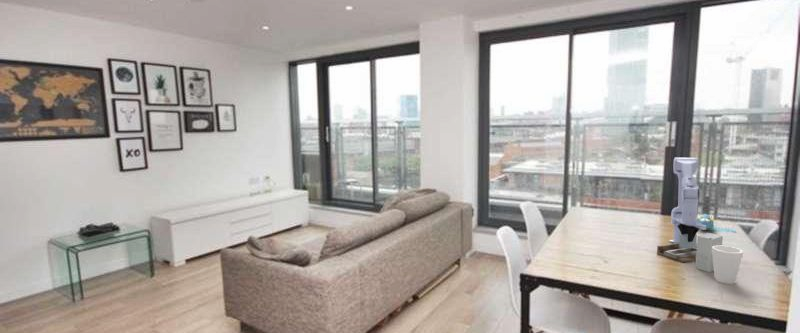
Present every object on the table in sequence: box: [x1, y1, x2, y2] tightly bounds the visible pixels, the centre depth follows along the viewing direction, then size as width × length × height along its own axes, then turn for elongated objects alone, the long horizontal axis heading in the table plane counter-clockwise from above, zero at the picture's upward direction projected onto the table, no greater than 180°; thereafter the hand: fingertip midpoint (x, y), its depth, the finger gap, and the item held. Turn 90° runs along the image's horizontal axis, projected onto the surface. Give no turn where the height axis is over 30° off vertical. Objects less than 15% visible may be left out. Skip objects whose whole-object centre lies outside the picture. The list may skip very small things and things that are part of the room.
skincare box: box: [694, 232, 724, 273], centre depth 169 cm, size 8×6×15 cm
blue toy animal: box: [697, 213, 737, 234], centre depth 226 cm, size 28×9×15 cm
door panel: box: [679, 233, 698, 249], centre depth 185 cm, size 8×2×6 cm, turn 106°
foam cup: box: [712, 244, 744, 285], centre depth 157 cm, size 10×9×13 cm
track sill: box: [656, 242, 697, 264], centre depth 185 cm, size 17×13×4 cm
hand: (687, 240), depth 185 cm, fingers closed on door panel, 2 cm apart
